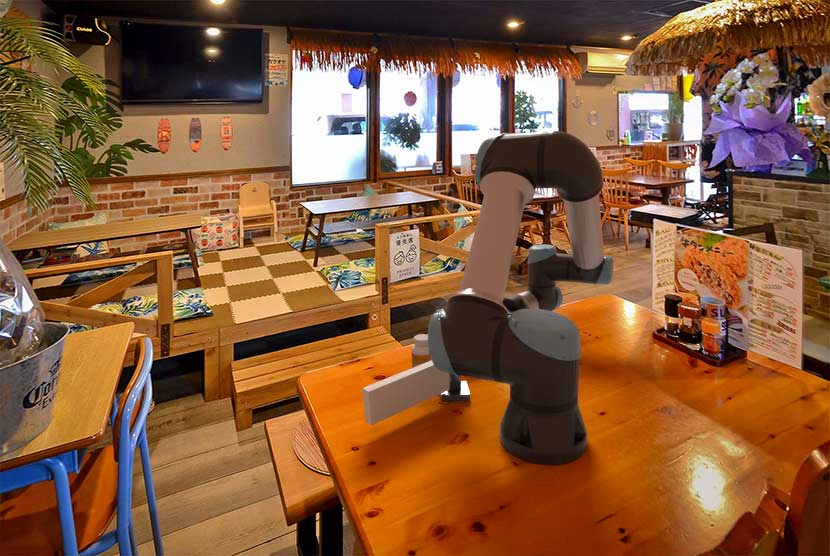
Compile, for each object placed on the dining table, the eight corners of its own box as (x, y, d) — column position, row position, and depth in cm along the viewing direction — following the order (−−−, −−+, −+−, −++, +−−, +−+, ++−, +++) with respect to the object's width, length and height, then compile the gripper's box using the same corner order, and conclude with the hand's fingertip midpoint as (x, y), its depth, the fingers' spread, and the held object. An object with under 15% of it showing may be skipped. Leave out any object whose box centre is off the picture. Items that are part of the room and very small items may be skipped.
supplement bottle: (433, 381, 113) (432, 342, 111) (410, 380, 114) (408, 341, 112) (437, 371, 118) (435, 333, 116) (415, 370, 119) (413, 332, 117)
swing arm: (443, 386, 105) (442, 356, 104) (449, 389, 104) (448, 358, 102) (365, 421, 94) (362, 388, 92) (371, 425, 92) (368, 391, 90)
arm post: (470, 401, 104) (468, 348, 101) (441, 402, 104) (439, 350, 101) (466, 387, 110) (465, 337, 106) (439, 389, 110) (437, 338, 106)
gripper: (536, 327, 130) (470, 353, 117) (500, 315, 140) (435, 338, 127) (536, 300, 128) (469, 323, 115) (499, 290, 138) (434, 310, 125)
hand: (451, 331), depth 121 cm, fingers closed
